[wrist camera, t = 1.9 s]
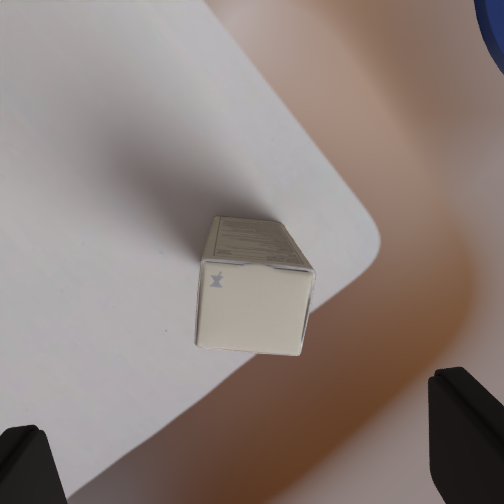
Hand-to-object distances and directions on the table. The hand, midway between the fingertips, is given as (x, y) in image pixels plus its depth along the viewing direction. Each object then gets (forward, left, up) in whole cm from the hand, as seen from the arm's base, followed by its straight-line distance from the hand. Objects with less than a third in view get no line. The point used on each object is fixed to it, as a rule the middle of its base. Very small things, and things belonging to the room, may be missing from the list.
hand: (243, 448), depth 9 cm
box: (0, 0, -19) cm, 19 cm away
